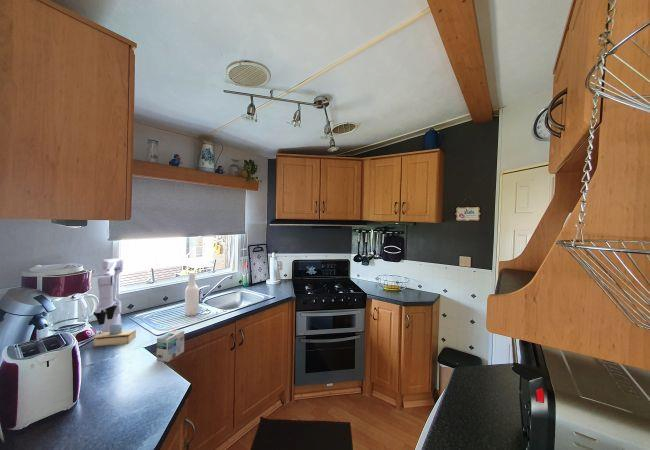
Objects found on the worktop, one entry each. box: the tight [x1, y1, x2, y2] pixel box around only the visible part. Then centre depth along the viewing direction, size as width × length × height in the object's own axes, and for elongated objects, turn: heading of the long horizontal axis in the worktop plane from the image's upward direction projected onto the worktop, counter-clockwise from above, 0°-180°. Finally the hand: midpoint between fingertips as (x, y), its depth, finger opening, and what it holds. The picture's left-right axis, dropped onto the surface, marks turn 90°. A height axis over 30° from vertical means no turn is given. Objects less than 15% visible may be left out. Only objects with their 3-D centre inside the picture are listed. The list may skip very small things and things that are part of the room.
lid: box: [93, 329, 137, 339], centre depth 139 cm, size 8×16×1 cm, turn 103°
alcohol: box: [184, 271, 200, 317], centre depth 181 cm, size 9×9×30 cm
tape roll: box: [109, 322, 123, 335], centre depth 139 cm, size 5×5×5 cm
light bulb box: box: [156, 329, 185, 363], centre depth 124 cm, size 11×7×11 cm, turn 168°
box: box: [92, 330, 137, 347], centre depth 139 cm, size 8×16×4 cm, turn 103°
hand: (105, 321), depth 140 cm, fingers open, 7 cm apart
